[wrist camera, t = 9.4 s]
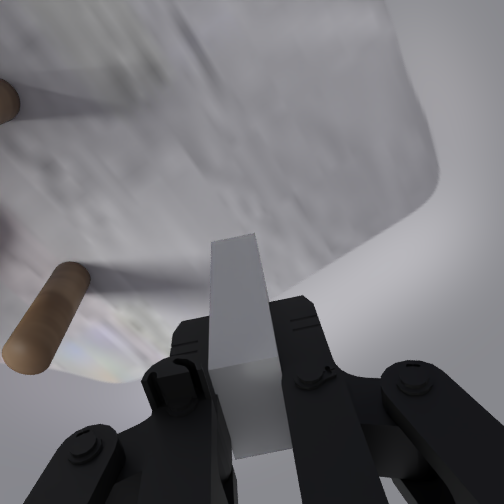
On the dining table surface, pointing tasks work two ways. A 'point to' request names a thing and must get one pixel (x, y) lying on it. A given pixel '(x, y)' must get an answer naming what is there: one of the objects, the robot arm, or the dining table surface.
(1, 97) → the post
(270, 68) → the dining table surface
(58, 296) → the post
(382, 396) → the robot arm
